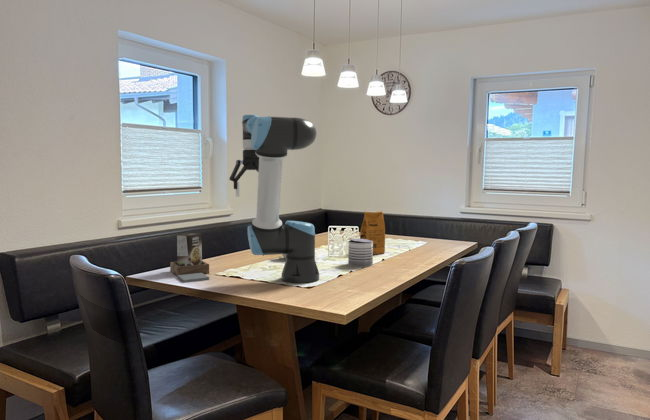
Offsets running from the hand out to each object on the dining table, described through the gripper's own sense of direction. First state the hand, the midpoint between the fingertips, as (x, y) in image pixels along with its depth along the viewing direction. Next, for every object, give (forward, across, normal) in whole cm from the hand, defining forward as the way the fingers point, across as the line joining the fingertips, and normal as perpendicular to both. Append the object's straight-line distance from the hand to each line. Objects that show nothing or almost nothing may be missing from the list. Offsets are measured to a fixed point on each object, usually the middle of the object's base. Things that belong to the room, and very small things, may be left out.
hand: (251, 196), depth 223 cm
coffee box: (+31, +30, +3) cm, 43 cm away
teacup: (+32, -23, -4) cm, 40 cm away
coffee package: (+32, -66, +4) cm, 73 cm away
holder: (+32, +30, +3) cm, 44 cm away
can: (+32, -43, +26) cm, 60 cm away
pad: (+32, +32, +16) cm, 48 cm away
